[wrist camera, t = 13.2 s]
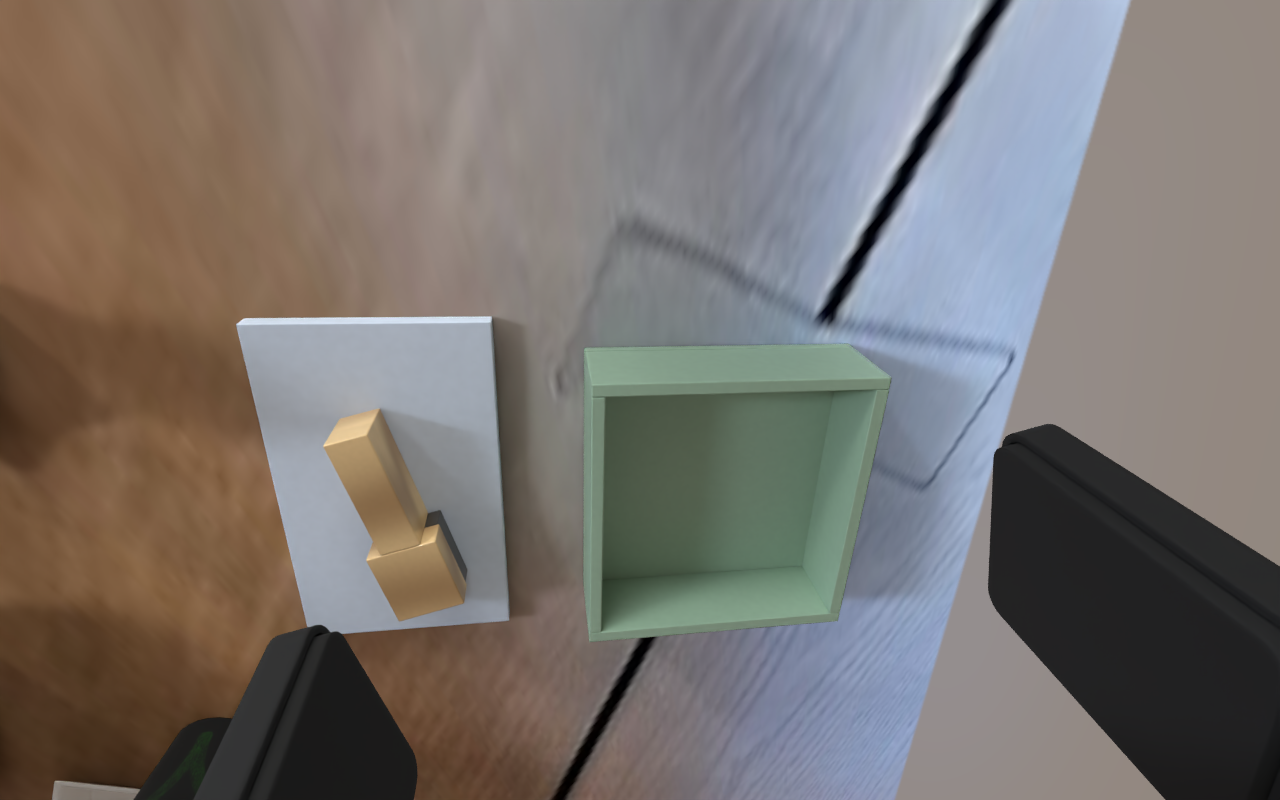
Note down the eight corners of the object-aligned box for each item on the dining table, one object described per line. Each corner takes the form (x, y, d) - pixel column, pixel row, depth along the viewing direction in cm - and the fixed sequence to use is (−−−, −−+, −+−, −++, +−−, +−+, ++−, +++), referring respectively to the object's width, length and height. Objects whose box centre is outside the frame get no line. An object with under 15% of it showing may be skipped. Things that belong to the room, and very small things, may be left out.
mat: (243, 317, 32) (235, 324, 31) (492, 316, 33) (491, 322, 33) (314, 624, 40) (309, 636, 39) (509, 610, 42) (509, 621, 41)
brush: (324, 422, 33) (305, 450, 31) (394, 403, 34) (383, 429, 31) (408, 586, 39) (398, 622, 36) (469, 568, 39) (464, 603, 36)
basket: (583, 347, 35) (591, 384, 30) (848, 343, 37) (892, 377, 33) (583, 583, 42) (589, 642, 37) (806, 567, 44) (837, 621, 40)
